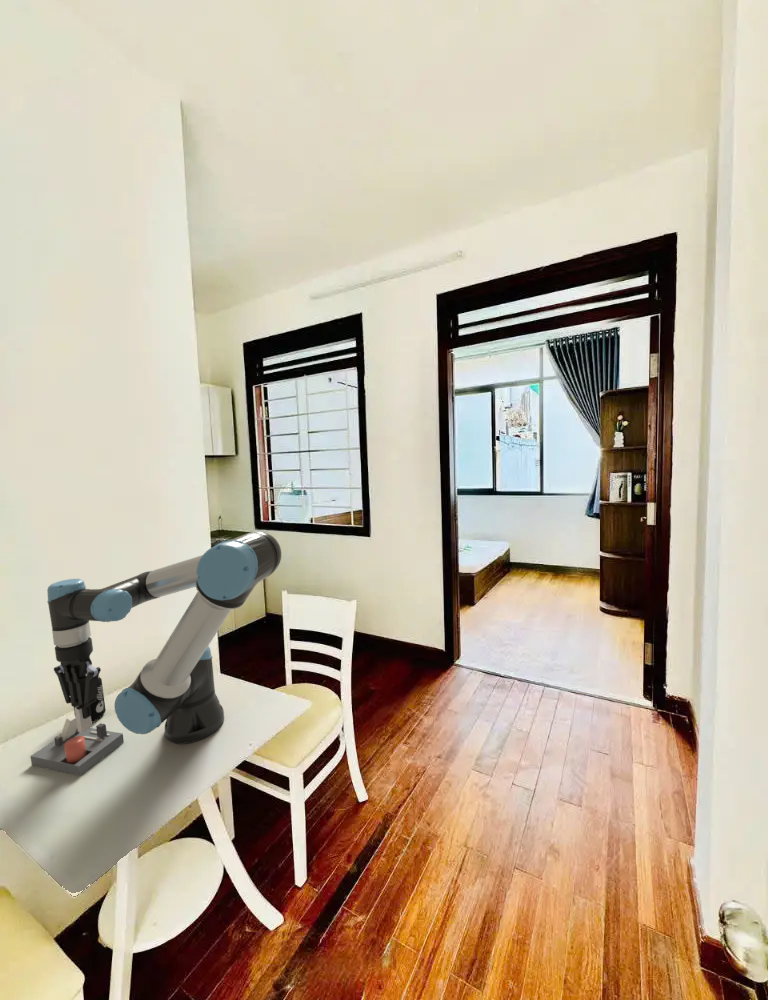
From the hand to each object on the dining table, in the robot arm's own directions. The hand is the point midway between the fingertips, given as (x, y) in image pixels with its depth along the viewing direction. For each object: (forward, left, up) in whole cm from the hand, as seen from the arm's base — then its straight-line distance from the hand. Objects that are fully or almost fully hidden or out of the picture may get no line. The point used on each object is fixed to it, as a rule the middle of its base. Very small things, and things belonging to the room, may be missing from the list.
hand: (85, 728), depth 107 cm
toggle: (+7, 0, -3) cm, 8 cm away
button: (-2, +4, -4) cm, 6 cm away
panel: (+2, +1, -6) cm, 7 cm away
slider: (-2, -3, -4) cm, 5 cm away
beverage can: (+13, -12, -7) cm, 19 cm away
